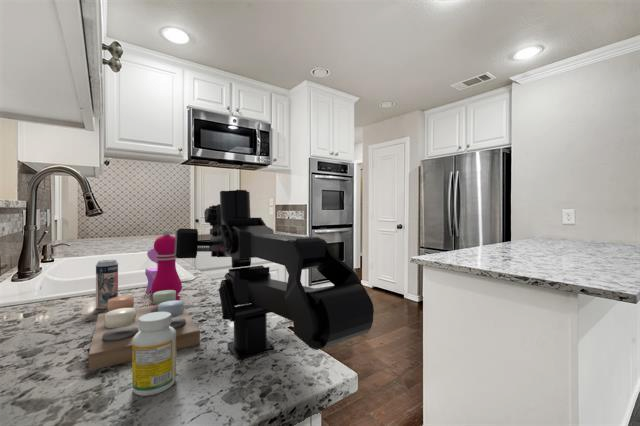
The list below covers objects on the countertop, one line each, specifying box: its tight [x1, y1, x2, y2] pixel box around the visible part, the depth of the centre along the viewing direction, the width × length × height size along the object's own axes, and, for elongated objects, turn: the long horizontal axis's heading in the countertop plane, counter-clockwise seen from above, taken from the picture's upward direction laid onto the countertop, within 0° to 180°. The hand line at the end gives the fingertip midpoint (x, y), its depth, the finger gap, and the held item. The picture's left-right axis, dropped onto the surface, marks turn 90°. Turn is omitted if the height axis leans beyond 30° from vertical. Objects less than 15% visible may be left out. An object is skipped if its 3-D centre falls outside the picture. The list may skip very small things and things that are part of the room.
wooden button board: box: [88, 305, 201, 372], centre depth 58 cm, size 22×16×3 cm
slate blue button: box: [158, 299, 185, 318], centre depth 56 cm, size 4×4×2 cm
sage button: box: [152, 290, 176, 305], centre depth 64 cm, size 4×4×2 cm
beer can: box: [95, 259, 119, 310], centre depth 75 cm, size 5×5×12 cm
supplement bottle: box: [131, 312, 177, 397], centre depth 40 cm, size 5×5×10 cm
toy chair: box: [144, 246, 158, 293], centre depth 89 cm, size 8×9×15 cm
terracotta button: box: [107, 295, 135, 312], centre depth 59 cm, size 4×4×2 cm
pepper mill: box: [150, 229, 183, 306], centre depth 77 cm, size 7×7×20 cm
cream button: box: [105, 307, 135, 328], centre depth 51 cm, size 4×4×2 cm
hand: (211, 244), depth 72 cm, fingers open, 9 cm apart
